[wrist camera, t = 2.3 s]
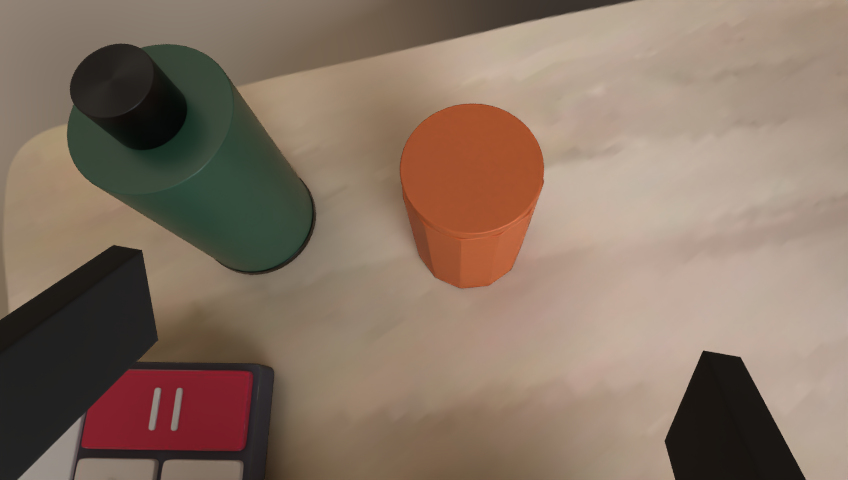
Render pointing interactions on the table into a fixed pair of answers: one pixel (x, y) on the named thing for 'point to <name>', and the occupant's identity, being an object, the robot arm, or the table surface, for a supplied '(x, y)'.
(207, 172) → the flask
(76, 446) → the red and grey box
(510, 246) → the cap
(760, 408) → the robot arm
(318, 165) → the table surface
